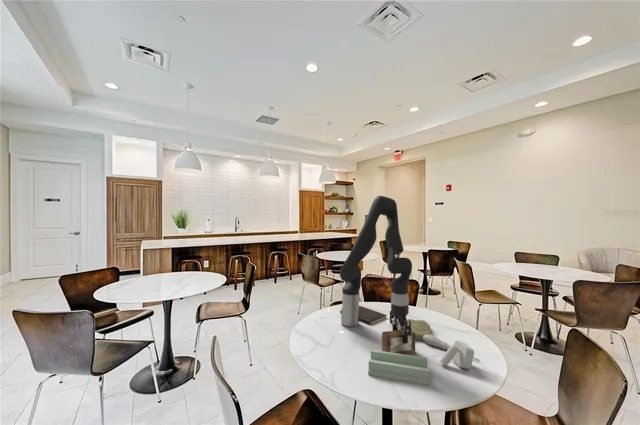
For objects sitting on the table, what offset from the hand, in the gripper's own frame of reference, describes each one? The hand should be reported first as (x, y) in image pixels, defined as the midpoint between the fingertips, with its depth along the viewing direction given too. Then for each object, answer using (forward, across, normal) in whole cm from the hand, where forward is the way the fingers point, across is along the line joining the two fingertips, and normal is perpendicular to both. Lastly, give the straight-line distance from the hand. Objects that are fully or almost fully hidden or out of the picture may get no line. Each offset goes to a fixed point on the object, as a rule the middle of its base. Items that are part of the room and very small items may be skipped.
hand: (399, 338), depth 123 cm
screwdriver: (+7, -4, -22) cm, 24 cm away
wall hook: (+7, -14, -16) cm, 23 cm away
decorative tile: (+7, +17, -18) cm, 26 cm away
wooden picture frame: (+6, 0, +1) cm, 6 cm away
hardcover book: (+6, +44, -1) cm, 44 cm away
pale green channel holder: (+6, -13, +8) cm, 16 cm away
